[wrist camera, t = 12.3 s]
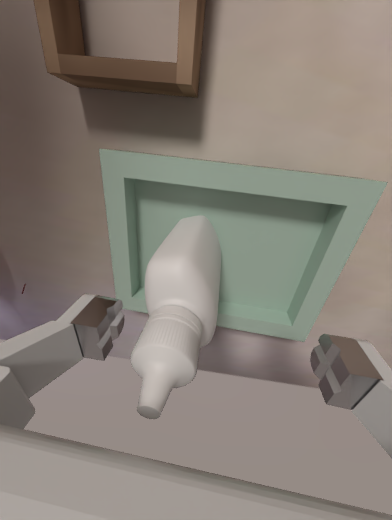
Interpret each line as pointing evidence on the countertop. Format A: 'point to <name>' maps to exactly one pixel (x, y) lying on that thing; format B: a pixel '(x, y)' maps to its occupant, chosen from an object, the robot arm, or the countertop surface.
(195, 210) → the tray
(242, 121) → the countertop surface
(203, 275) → the eye dropper bottle
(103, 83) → the walnut rectangular frame
